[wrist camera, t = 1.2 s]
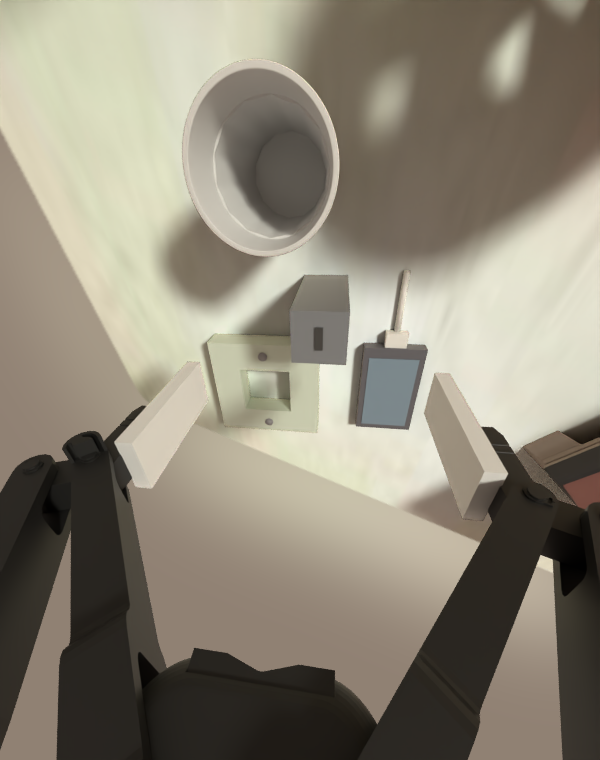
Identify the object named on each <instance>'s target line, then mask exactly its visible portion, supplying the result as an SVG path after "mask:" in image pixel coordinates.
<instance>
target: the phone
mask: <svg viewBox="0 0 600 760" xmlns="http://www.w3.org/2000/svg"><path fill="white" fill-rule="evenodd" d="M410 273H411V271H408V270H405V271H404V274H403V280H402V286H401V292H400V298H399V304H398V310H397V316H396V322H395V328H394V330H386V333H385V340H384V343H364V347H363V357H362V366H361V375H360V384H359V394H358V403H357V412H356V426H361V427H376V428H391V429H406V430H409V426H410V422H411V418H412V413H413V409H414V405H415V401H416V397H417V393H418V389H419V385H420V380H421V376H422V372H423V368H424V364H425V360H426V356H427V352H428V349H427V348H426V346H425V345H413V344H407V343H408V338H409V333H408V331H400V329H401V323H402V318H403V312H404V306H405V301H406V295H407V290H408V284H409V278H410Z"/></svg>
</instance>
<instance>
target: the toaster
mask: <svg viewBox="0 0 600 760" xmlns="http://www.w3.org/2000/svg"><path fill="white" fill-rule="evenodd" d="M523 448H524V449H525V450H526V451H527V452H528V453H529V455H530V456H531V457H532V458H533V459H534V460H535V461H536V462H537V463H538V464H539V465H540V466H541V467H542V468H543V469H544V470H545V471H546V472H547V473H548V474H549V476H550V477H551V478H552V479H553V480H554V481H555V483H556V484H557V485H558V486H559V487H560V488H561V489H562V490H563V491H564V492H565V494H566V495H567V496H568V497H569V498H570V499H571V500H572V501H573V502H574V503H575V504H576V506H577V507H580V508H583V509H586V508H587V507H588V505H590V504H591V503H593V502H600V437H599V438H596V439H594V440H592V441H589V442H587V443H584V444H580V443H578V442H576V441H575V440H573V439H571V438H570V437H568V436H566V435H565V434H563V433H561V432H560V431H556V432H554V433H551V434H549V435H547V436H545V437H543V438H540V439H538V440H536V441H534V442H532V443H529V444H527V445H525V446H523Z"/></svg>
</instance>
